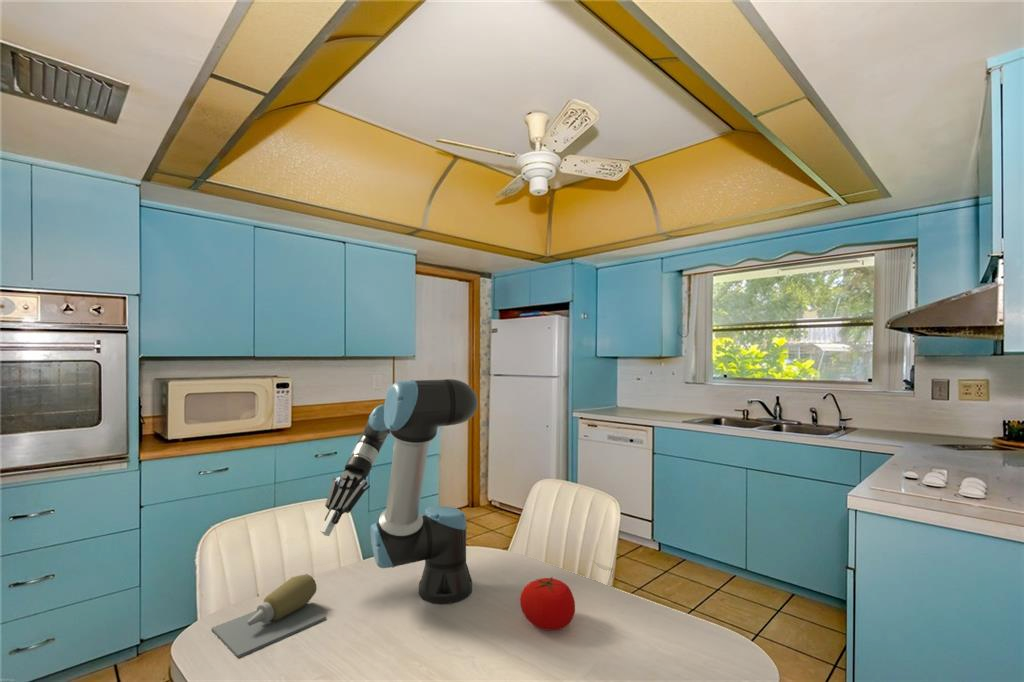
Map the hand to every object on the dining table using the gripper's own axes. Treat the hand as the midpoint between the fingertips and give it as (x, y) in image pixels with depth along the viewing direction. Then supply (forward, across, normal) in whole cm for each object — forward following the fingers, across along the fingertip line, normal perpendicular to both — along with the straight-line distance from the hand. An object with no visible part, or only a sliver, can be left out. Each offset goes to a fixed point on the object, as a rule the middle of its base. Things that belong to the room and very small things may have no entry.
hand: (324, 533), depth 140 cm
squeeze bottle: (+12, +1, -5) cm, 13 cm away
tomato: (+7, -63, -17) cm, 66 cm away
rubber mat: (+24, +2, 0) cm, 24 cm away
